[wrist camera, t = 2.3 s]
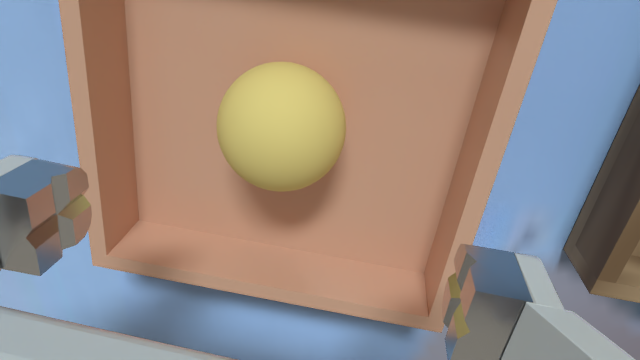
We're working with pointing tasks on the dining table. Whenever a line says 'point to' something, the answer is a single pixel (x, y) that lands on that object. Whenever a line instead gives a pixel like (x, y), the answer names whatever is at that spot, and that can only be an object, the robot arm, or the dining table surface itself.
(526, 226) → the dining table surface
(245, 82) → the ball
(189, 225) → the dish
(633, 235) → the tray
